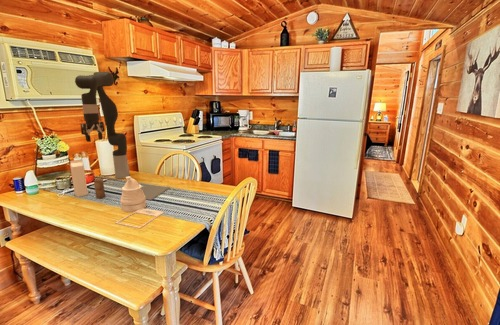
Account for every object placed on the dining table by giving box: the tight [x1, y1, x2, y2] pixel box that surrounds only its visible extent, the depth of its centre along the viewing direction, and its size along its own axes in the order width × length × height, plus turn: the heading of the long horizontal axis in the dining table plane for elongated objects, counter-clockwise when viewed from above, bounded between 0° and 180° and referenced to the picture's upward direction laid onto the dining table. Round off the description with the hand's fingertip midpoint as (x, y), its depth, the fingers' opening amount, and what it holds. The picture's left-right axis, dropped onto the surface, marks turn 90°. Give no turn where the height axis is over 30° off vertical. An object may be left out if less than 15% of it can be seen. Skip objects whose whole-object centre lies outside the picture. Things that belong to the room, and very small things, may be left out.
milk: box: [69, 159, 89, 198], centre depth 157 cm, size 6×6×22 cm
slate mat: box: [141, 184, 171, 201], centre depth 164 cm, size 22×18×1 cm
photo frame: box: [114, 207, 165, 229], centre depth 130 cm, size 15×1×18 cm
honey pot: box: [119, 175, 147, 213], centre depth 141 cm, size 13×13×18 cm
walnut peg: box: [93, 178, 106, 200], centre depth 154 cm, size 5×5×11 cm
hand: (94, 140), depth 150 cm, fingers open, 8 cm apart
